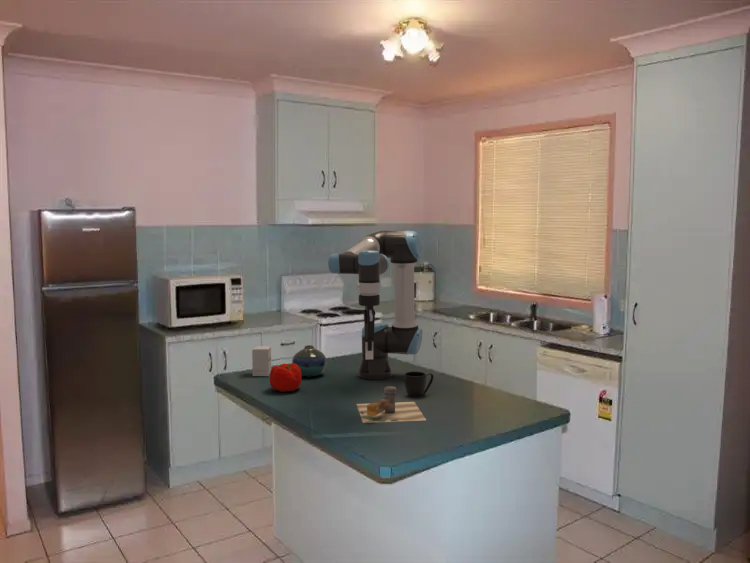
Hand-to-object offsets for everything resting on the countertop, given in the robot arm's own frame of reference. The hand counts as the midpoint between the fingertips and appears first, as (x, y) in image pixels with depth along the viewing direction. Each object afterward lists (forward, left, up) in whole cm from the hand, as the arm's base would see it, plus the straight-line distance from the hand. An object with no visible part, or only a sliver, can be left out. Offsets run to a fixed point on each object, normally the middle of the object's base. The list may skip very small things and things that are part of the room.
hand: (369, 358), depth 231 cm
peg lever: (+8, +3, -18) cm, 20 cm away
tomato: (-34, -30, -20) cm, 49 cm away
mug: (-17, +22, -20) cm, 34 cm away
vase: (-57, -20, -20) cm, 64 cm away
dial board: (+4, +7, -20) cm, 21 cm away
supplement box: (-60, -41, -20) cm, 75 cm away
